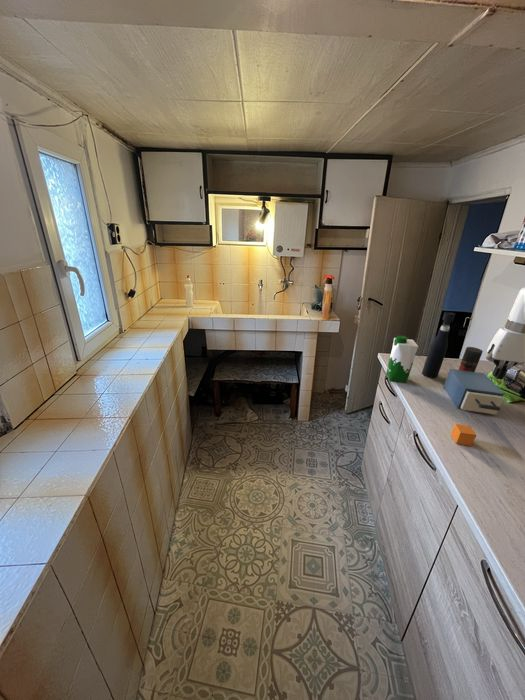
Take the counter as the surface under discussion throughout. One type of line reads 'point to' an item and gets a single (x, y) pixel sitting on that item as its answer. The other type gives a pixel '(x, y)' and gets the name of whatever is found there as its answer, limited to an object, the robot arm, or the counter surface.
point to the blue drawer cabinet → (468, 385)
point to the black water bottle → (438, 348)
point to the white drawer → (481, 402)
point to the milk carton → (401, 359)
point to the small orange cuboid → (463, 434)
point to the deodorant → (470, 359)
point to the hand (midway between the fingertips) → (497, 377)
